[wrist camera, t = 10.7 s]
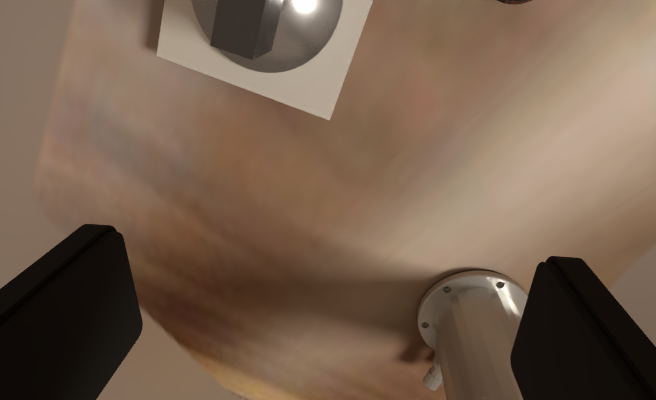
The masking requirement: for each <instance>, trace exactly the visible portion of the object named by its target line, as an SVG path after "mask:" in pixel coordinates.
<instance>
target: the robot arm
mask: <svg viewBox="0 0 656 400" xmlns="http://www.w3.org/2000/svg"><path fill="white" fill-rule="evenodd" d="M417 322H418V327H419V332H420V334H421V336H422V338H423V340H424V341H425V342H426V344H427V345H428V346H429V347H430V348H432V349H433V350H434V352H435V357H434V358H433V366H432V367H431V368H430V369H429V371H428V372H427V374H426V375H425V377H424V378H423V383H424V384H425V386H426V387H427V388H428V389H430V390H432V391H433V390H437V389H438V387H439V386H440V385H441V383H442V382H443V384H444V389H445V394H446V399H447V400H656V347H655V346H654V344H653V343H652V342H651V341H650V340H649V339H648V337H647V336H646V335H645V334H644V333H643V331H642V330H641V329H640V328H639V326H638V325H637V324H636V323H635V322H634V320H633V319H632V318H631V317H630V316H629V315H628V313H627V312H626V311H625V310H624V308H623V307H622V306H621V305H620V304H619V303H618V301H617V300H616V299H615V298H614V297H613V295H612V294H611V293H610V292H609V291H608V289H607V288H606V287H605V286H604V285H603V283H602V282H601V281H600V280H599V279H598V277H597V276H596V275H595V274H594V273H593V271H592V270H591V269H590V268H589V267H588V265H587V264H586V263H585V262H584V261H583V260H582V259H580V258H572V257H558V256H551V257H549V258H548V259H547V260H546V262H541V263H539V264H538V266H537V268H536V272H535V275H534V278H533V282H532V285H531V288H530V292H529V295H527V294H526V292H525V290H524V289H523V288H522V287H521V286H520V285H519V284H518V283H517V282H515V281H514V280H512V279H510V278H509V277H507V276H504V275H502V274H499V273H495V272H490V271H478V270H476V271H466V272H462V273H458V274H454V275H451V276H449V277H447V278H444V279H443V280H441V281H439V282H438V283H436V284H435V285H434V286H433V287H432V288H430V289H429V290H428V291H427V293H426V294H425V295H424V297H423V298H422V300H421V302H420V304H419V307H418V312H417ZM141 331H142V317H141V313H140V309H139V304H138V300H137V295H136V291H135V287H134V282H133V278H132V273H131V269H130V265H129V260H128V256H127V251H126V247H125V242H124V238H123V236H122V234H121V233H119V232H117V231H116V229H115V228H114V227H113V226H110V225H96V224H85V225H83V226H81V227H80V228H78V229H77V230H76V231H75V232H73V233H72V234H71V235H69V236H68V237H67V238H66V239H64V240H63V241H62V242H60V243H59V244H58V245H56V246H55V247H54V248H53V249H51V250H50V251H49V252H48V253H46V254H45V255H44V256H42V257H41V258H40V259H38V260H37V261H36V262H35V263H33V264H32V265H31V266H29V267H28V268H27V269H26V270H24V271H23V272H22V273H20V274H19V275H18V276H17V277H15V278H14V279H13V280H11V281H10V282H9V283H7V284H6V285H5V286H4V287H2V288H1V289H0V400H96V399H97V398H98V396H99V395H100V393H101V392H102V390H103V389H104V387H105V386H106V384H107V383H108V381H109V380H110V379H111V377H112V376H113V374H114V373H115V371H116V370H117V368H118V367H119V365H120V364H121V362H122V361H123V360H124V358H125V357H126V355H127V354H128V352H129V351H130V349H131V348H132V347H133V345H134V344H135V342H136V341H137V339H138V338H139V336H140V334H141Z"/></svg>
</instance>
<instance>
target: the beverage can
mask: <svg viewBox="0 0 656 400" xmlns="http://www.w3.org/2000/svg"><path fill="white" fill-rule="evenodd" d="M498 1H500V2H502V3H507V4H521V3H526V2H529V1H531V0H498Z"/></svg>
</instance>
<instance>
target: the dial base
mask: <svg viewBox="0 0 656 400" xmlns="http://www.w3.org/2000/svg"><path fill="white" fill-rule="evenodd" d="M372 2H373V0H343V7H342V12H341V16H340V19H339V22H338V25H337V27H336V29H335V31H334V33H333V35H332V37H331V39H330V40H329V41H328V43H327V44H326V46H325V47H324V48H323V49H322V50H321V51H320V52H319V53H318V54H317V55H316V56H315V57H314V58H312V59H311V60H310V61H308V62H307V63H305V64H303V65H302V66H299V67H297V68H295V69H292V70H289V71H285V72H278V73H264V72H257V71H253V70H249V69H247V68H244V67H242V66H239V65H238V64H236V63H234V62H232V61H231V60H229V59H228V58H227V57H225V56H224V55H223V54H222V53H221V52H220V51H219V50H217V49H216V48H215V47H212V46H210V43H211V42H210V40H209V39H208V38H207V36H206V35H205V33H204V32H203V30H202V28H201V26H200V24H199V22H198V20H197V18H196V15H195V12H194V10H193V6H192V2H191V0H165V2H164V9H163V15H162V22H161V29H160V36H159V42H158V49H157V56H158V57H161V58H163V59H166V60H169V61H172V62H174V63H177V64H180V65H182V66H185V67H188V68H190V69H193V70H196V71H198V72H201V73H204V74H206V75H209V76H212V77H214V78H217V79H220V80H222V81H225V82H228V83H231V84H233V85H236V86H239V87H241V88H244V89H247V90H249V91H252V92H255V93H257V94H260V95H263V96H265V97H268V98H271V99H273V100H276V101H279V102H281V103H284V104H287V105H290V106H292V107H295V108H298V109H300V110H303V111H306V112H308V113H311V114H314V115H316V116H319V117H322V118H324V119H327V120H330V118H331V115H332V112H333V110H334V107H335V104H336V101H337V99H338V96H339V93H340V90H341V88H342V85H343V82H344V79H345V77H346V74H347V71H348V68H349V65H350V63H351V60H352V57H353V54H354V52H355V49H356V46H357V43H358V41H359V38H360V35H361V32H362V30H363V27H364V24H365V21H366V18H367V16H368V13H369V10H370V7H371V5H372Z"/></svg>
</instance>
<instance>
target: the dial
mask: <svg viewBox="0 0 656 400" xmlns="http://www.w3.org/2000/svg"><path fill="white" fill-rule="evenodd" d="M191 2H192V6H193V10H194V12H195V15H196V18H197V20H198V22H199V24H200V26H201V28H202V30H203V32H204V33H205V35H206V36H207V38H208V39H209V40H210V42H211V43H210V46H212V47H215V48H216V49H217V50H219V51H220V52H221V53H222V54H223V55H224V56H225V57H227V58H228V59H229V60H231V61H232V62H234V63H236V64H238V65H239V66H242V67H244V68H247V69H249V70H253V71H257V72H264V73H278V72H285V71H289V70H292V69H295V68H297V67H299V66H302V65H303V64H305V63H307V62H308V61H310V60H311V59H312V58H314V57H315V56H316V55H317V54H318V53H319V52H320V51H321V50H322V49H323V48H324V47H325V46H326V44H327V43H328V41H329V40H330V39H331V37H332V35H333V33H334V31H335V29H336V27H337V25H338V22H339V19H340V16H341V12H342V7H343V0H191Z"/></svg>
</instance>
